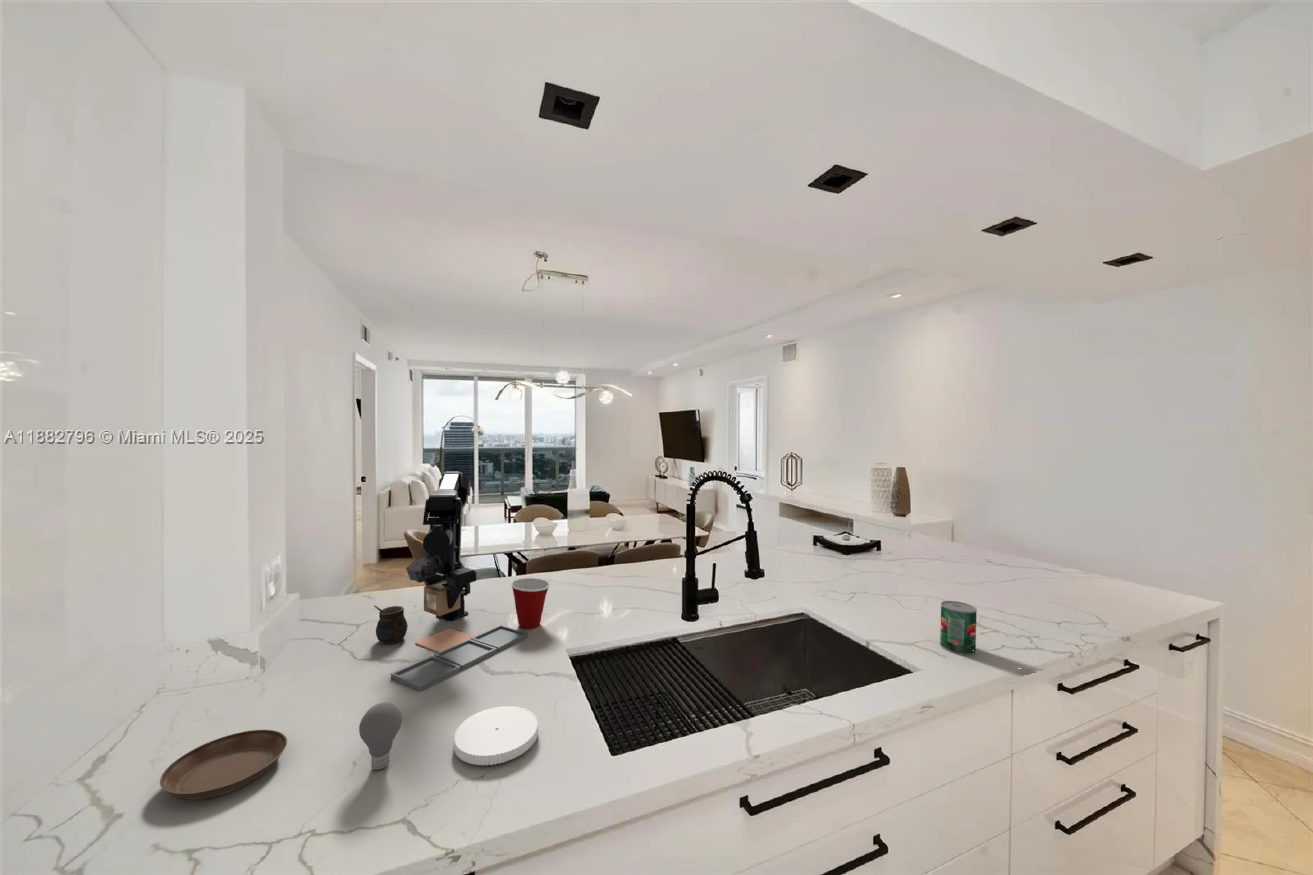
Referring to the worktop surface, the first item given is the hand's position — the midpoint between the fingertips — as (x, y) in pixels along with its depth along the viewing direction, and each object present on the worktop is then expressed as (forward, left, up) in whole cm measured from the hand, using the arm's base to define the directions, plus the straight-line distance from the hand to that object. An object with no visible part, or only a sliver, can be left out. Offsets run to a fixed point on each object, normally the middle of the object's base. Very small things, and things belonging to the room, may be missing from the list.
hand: (442, 605), depth 119 cm
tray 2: (+9, 0, -10) cm, 14 cm away
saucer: (+10, -46, -11) cm, 48 cm away
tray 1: (+9, -11, -10) cm, 17 cm away
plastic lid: (+40, -19, -11) cm, 45 cm away
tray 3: (+9, +10, -10) cm, 17 cm away
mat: (-2, +2, -10) cm, 11 cm away
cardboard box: (0, 0, -1) cm, 1 cm away
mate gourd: (-14, -5, -11) cm, 18 cm away
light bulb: (+29, -33, -11) cm, 45 cm away
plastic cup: (+9, +21, -11) cm, 26 cm away
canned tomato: (+113, +68, -11) cm, 133 cm away
